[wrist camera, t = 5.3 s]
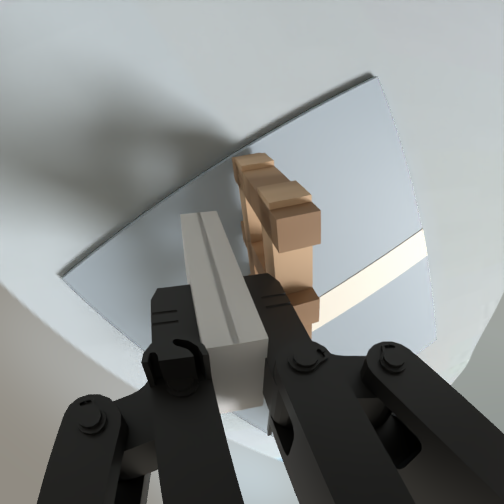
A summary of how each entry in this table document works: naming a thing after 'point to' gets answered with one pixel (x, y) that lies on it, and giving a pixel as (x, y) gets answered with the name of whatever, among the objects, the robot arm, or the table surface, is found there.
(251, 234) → the fence panel
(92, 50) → the table surface
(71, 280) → the card
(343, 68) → the table surface
